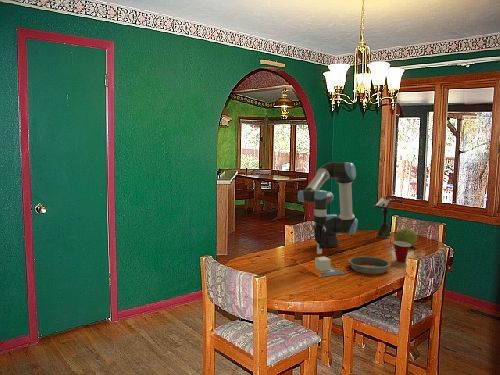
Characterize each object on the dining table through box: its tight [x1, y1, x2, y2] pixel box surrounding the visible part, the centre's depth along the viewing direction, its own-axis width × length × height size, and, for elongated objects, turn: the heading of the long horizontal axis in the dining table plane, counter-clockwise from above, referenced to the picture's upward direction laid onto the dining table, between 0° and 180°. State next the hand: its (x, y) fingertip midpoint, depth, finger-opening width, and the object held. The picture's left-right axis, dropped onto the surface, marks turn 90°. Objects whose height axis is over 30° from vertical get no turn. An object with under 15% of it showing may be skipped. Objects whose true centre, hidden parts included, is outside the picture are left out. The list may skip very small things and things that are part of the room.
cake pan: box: [348, 255, 390, 275], centre depth 262 cm, size 25×25×4 cm
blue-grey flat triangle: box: [318, 265, 346, 278], centre depth 264 cm, size 34×18×1 cm, turn 22°
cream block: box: [314, 256, 332, 272], centre depth 258 cm, size 7×7×7 cm
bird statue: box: [373, 194, 394, 239], centre depth 341 cm, size 17×13×35 cm
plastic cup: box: [393, 240, 411, 263], centre depth 278 cm, size 11×11×12 cm
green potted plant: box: [394, 227, 418, 248], centre depth 314 cm, size 16×14×15 cm
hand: (319, 253), depth 261 cm, fingers closed
